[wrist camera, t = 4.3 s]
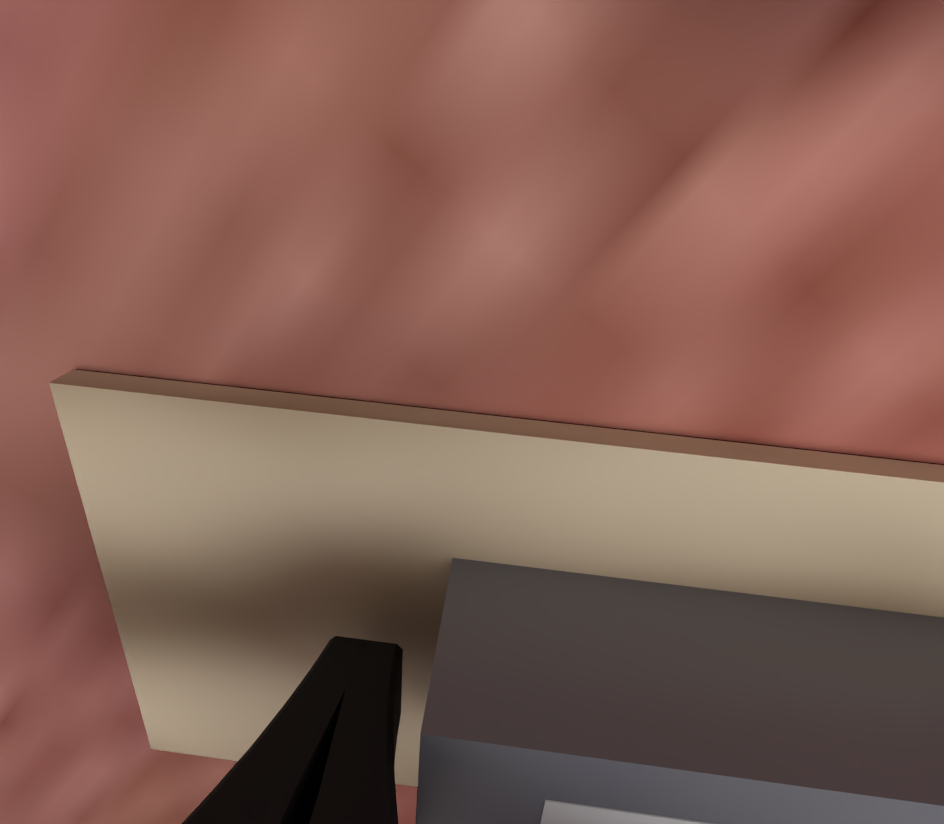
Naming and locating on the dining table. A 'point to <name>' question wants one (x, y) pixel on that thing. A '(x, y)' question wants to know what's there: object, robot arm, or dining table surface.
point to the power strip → (675, 706)
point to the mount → (433, 532)
